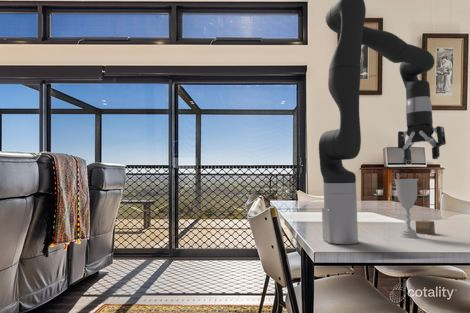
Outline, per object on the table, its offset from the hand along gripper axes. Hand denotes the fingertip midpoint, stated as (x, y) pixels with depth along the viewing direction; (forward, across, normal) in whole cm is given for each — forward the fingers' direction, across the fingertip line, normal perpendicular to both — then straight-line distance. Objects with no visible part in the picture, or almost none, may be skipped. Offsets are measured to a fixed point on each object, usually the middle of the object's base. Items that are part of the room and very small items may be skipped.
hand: (421, 159), depth 104 cm
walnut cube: (+24, 0, 0) cm, 24 cm away
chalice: (+24, 0, +10) cm, 26 cm away
